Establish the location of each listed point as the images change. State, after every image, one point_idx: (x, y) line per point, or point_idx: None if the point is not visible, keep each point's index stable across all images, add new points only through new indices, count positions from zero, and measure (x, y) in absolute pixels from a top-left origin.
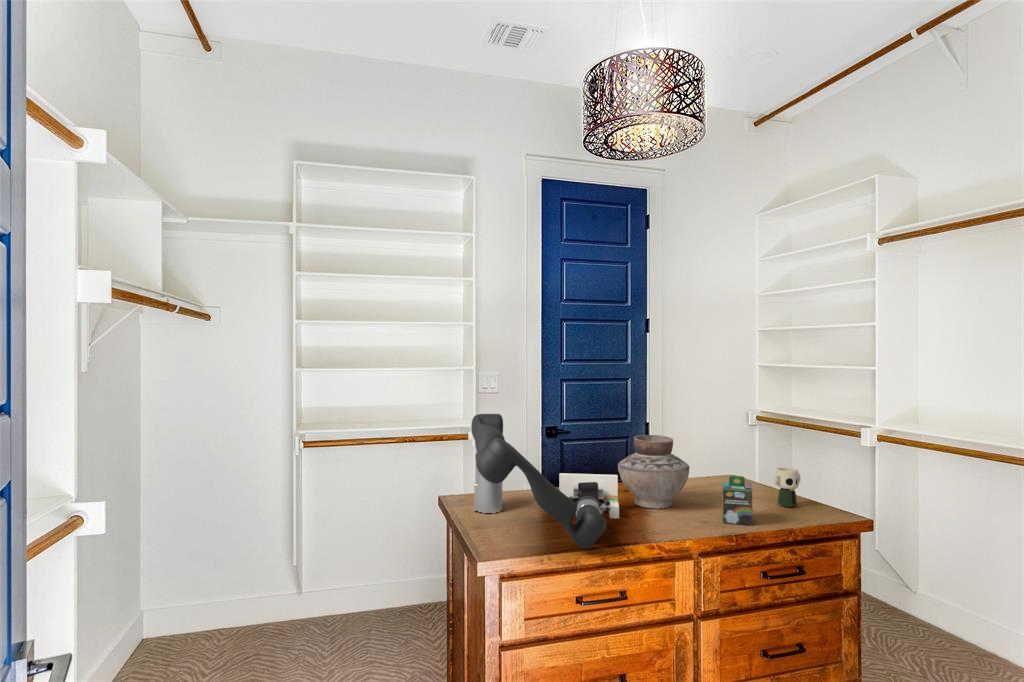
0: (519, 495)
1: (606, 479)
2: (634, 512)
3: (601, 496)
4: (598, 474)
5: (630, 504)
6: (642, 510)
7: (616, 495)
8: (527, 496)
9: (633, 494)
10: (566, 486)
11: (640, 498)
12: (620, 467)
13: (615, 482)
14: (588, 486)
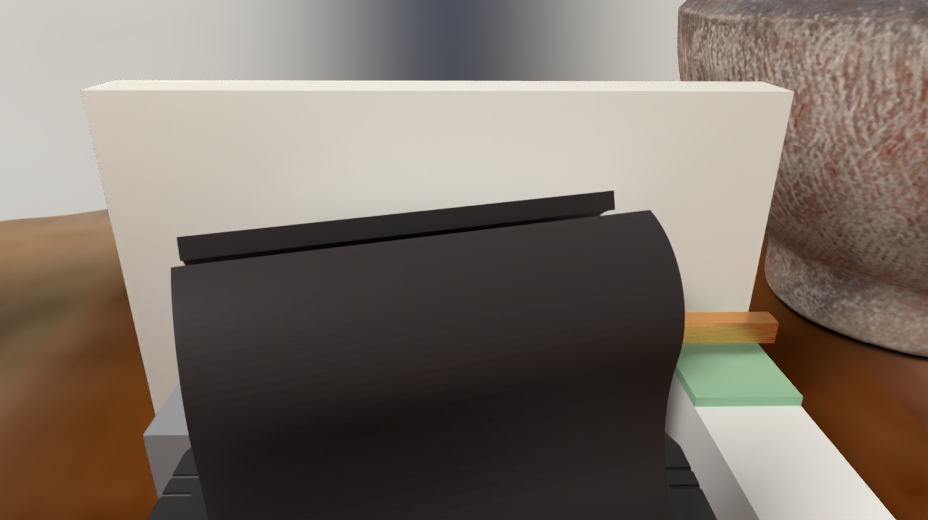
0: (3, 257)
1: (655, 135)
2: (889, 445)
3: (680, 446)
4: (556, 82)
5: (748, 311)
6: (917, 397)
7: (738, 300)
8: (47, 264)
9: (802, 249)
10: (194, 228)
11: (875, 285)
12: (752, 16)
13: (753, 166)
14: (435, 343)
